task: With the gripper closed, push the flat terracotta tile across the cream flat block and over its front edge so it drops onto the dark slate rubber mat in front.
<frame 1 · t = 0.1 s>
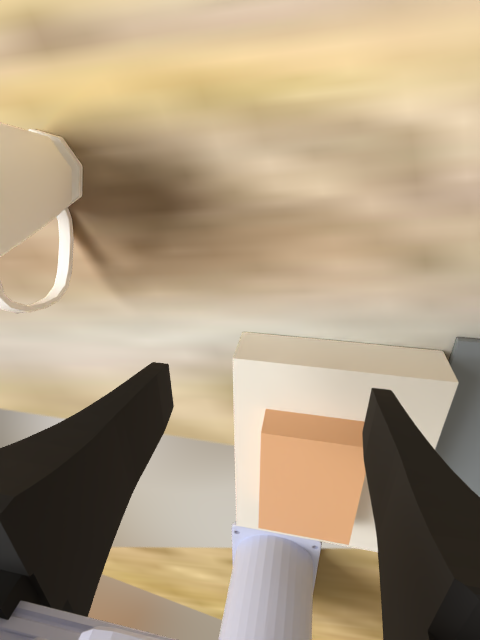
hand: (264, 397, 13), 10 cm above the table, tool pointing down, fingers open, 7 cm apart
cream flat block: (324, 434, 27), on the table
tile: (309, 466, 24), point 3 cm above the table, touching cream flat block
cup: (61, 197, 22), on the table
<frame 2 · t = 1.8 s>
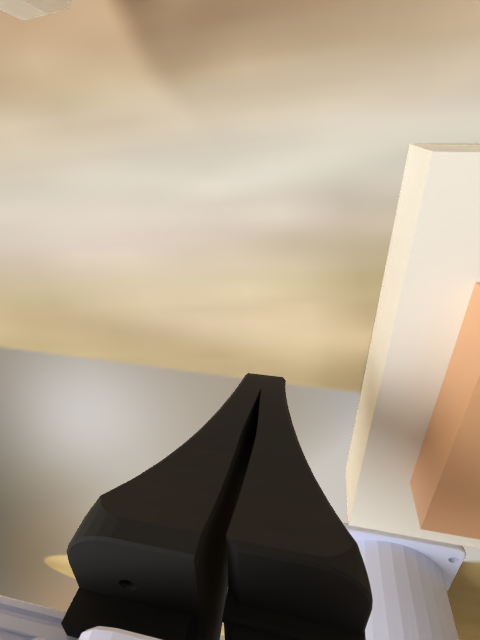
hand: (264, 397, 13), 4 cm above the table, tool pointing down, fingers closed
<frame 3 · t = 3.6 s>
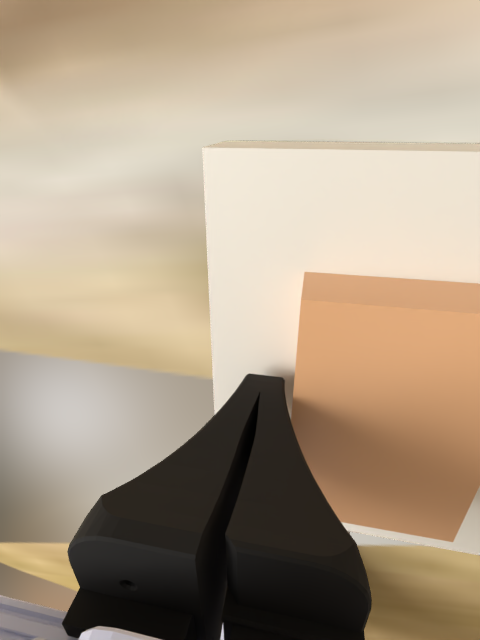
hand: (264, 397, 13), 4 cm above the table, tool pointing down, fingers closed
cream flat block: (367, 350, 16), on the table
tile: (379, 396, 13), point 3 cm above the table, touching gripper
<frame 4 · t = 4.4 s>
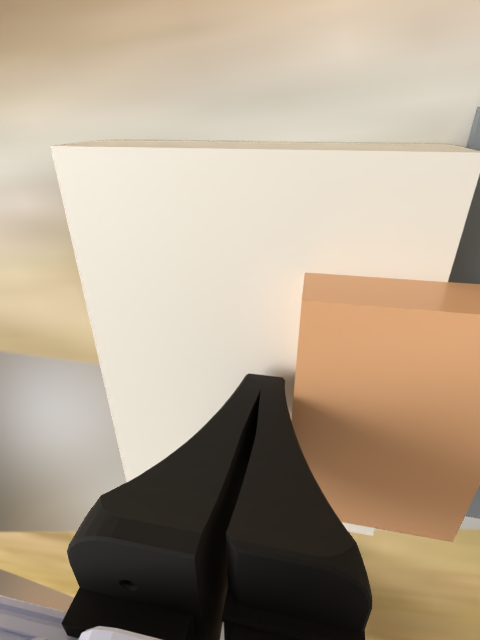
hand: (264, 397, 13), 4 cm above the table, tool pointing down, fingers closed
cream flat block: (256, 339, 17), on the table
tile: (379, 396, 13), point 3 cm above the table, touching cream flat block, gripper
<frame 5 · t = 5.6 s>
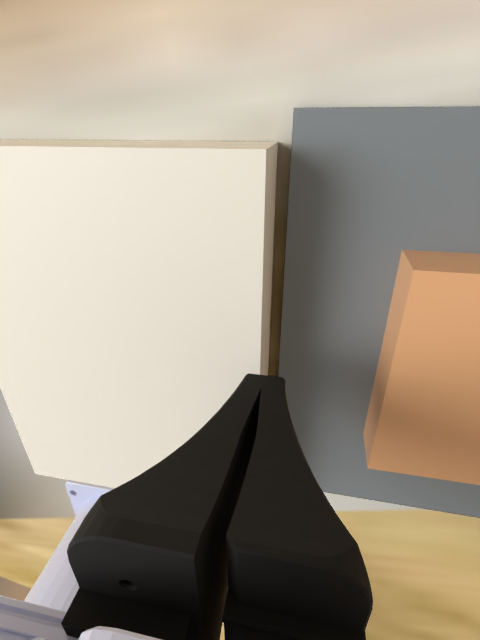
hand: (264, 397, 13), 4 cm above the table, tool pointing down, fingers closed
cream flat block: (143, 328, 18), on the table
mat: (425, 356, 15), on the table
tile: (476, 395, 13), point 2 cm above the table, tilted 180°, touching mat
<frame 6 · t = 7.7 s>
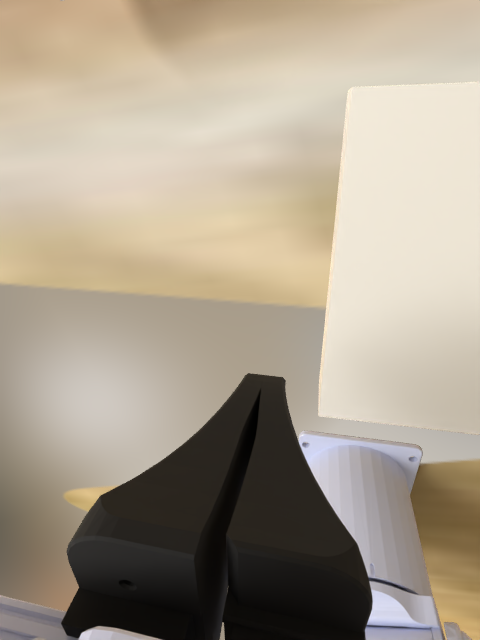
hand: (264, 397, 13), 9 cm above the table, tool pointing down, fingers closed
cream flat block: (451, 271, 19), on the table
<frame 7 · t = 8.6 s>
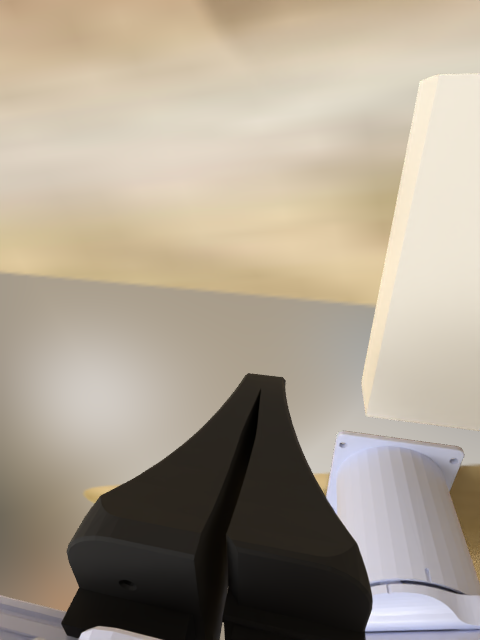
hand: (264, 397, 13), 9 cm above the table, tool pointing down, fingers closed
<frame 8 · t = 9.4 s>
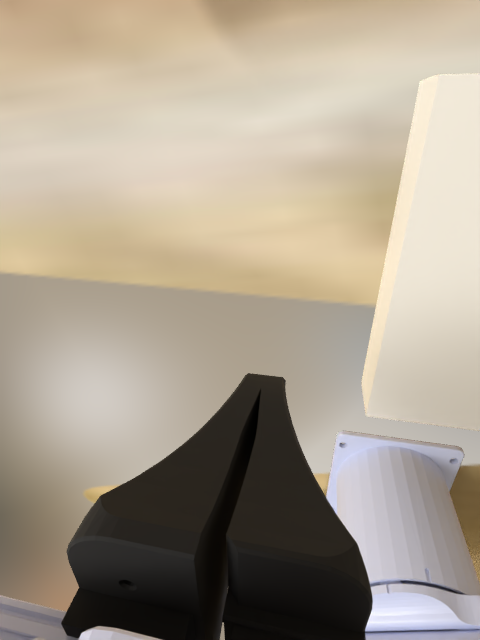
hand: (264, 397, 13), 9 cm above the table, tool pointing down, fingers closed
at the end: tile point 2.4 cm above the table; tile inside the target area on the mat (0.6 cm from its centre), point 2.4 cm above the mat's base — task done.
